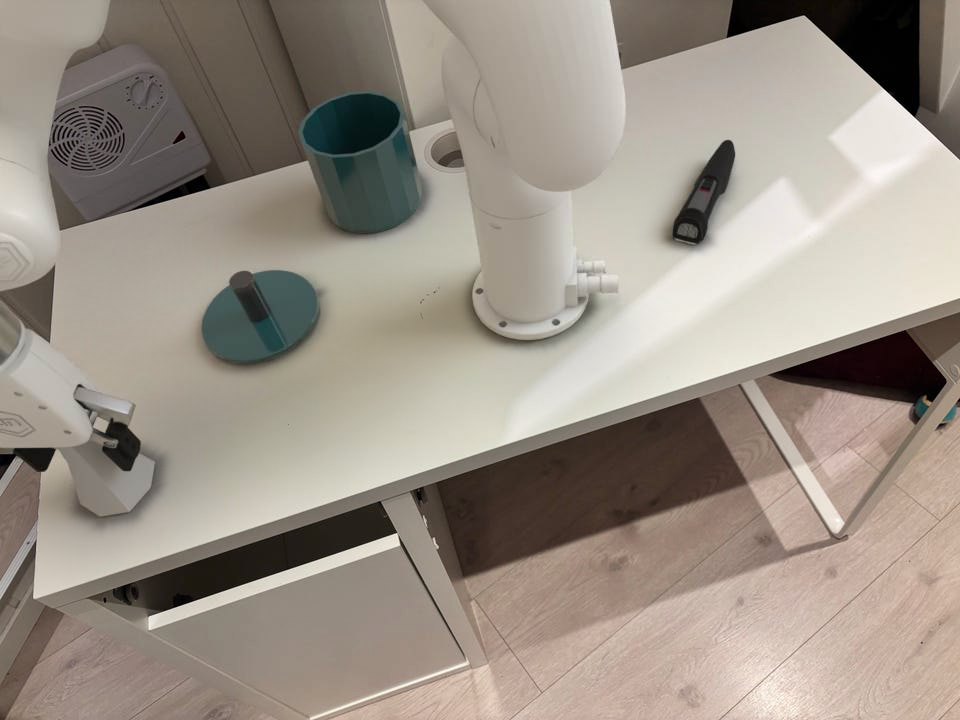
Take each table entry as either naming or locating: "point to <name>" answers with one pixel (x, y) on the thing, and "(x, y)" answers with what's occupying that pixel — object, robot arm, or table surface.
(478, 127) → the robot arm
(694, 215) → the electric trimmer
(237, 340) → the lid
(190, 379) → the table surface
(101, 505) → the flask
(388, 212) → the pot
